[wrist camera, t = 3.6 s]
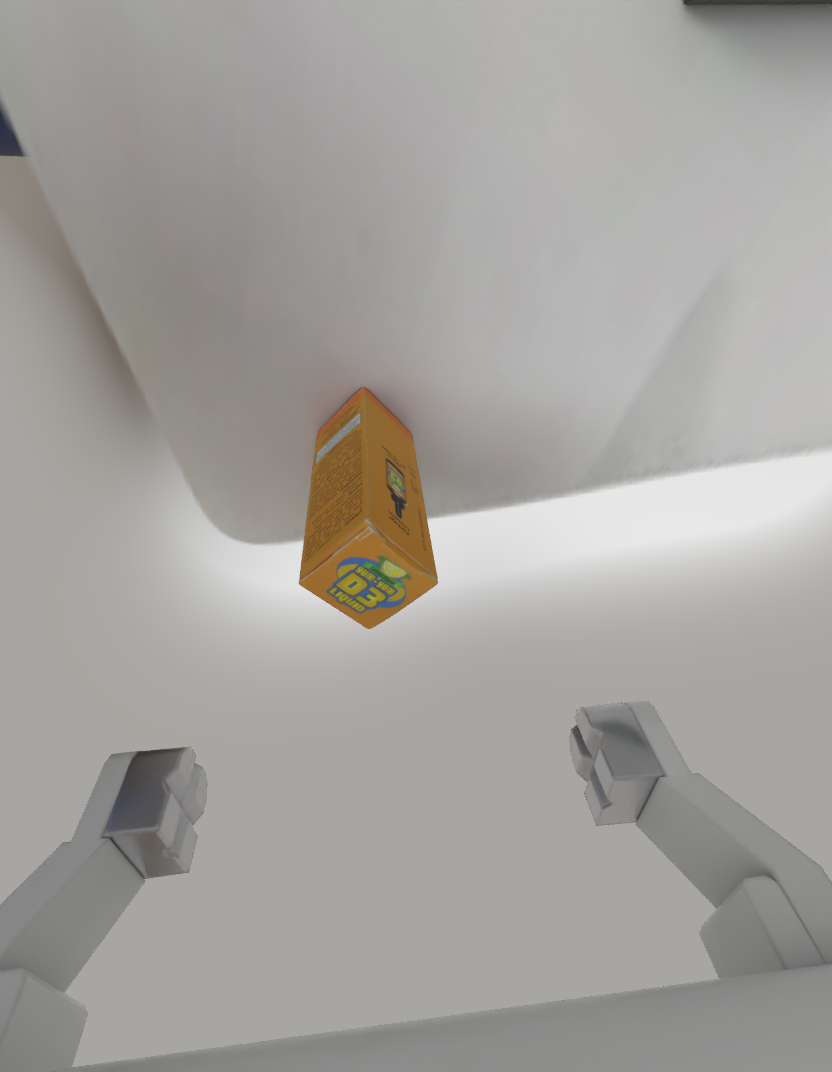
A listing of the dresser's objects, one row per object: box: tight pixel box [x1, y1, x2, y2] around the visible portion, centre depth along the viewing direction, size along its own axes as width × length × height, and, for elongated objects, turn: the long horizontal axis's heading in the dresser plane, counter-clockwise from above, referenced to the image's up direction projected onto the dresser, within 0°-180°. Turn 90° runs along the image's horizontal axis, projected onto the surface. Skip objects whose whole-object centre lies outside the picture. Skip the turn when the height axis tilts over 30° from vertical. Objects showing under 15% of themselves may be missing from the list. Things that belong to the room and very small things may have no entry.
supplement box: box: [299, 388, 438, 629], centre depth 19 cm, size 3×4×10 cm
